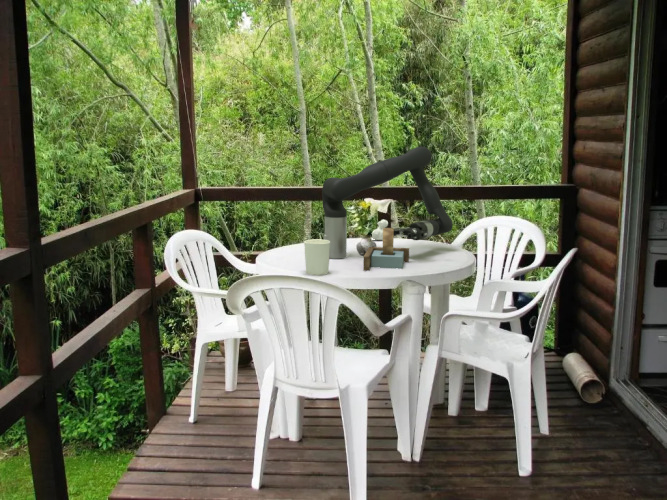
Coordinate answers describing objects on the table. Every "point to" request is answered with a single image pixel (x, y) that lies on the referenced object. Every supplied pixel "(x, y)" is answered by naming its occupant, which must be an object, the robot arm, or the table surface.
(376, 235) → the duck figurine
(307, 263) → the candle holder
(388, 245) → the oak dowel
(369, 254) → the backstop fence
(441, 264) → the table surface
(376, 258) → the socket block
